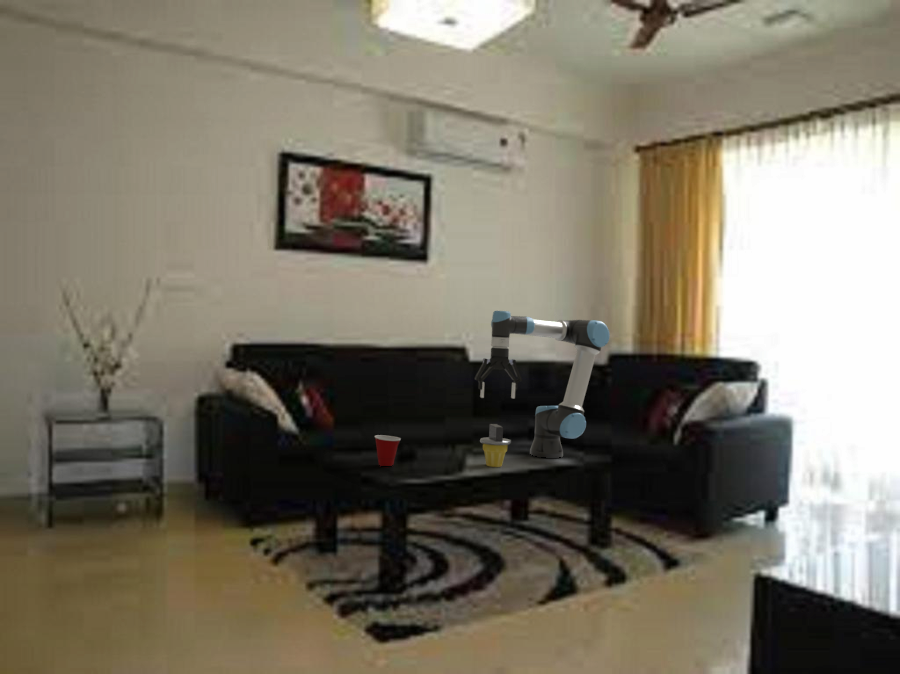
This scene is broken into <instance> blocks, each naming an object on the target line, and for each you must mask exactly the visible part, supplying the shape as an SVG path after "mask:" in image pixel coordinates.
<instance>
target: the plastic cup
mask: <svg viewBox="0 0 900 674" xmlns="http://www.w3.org/2000/svg"><path fill="white" fill-rule="evenodd" d="M374 438H375V439H374V440H375V445H376V446H375V447H376V455H377V462H378V466H379V465H380V466H379V467H381V466H392V465H393V466H394V464H395V458H396V455H397V450H398V447H399V444H400V441H401V439H402V438H401V437H398V436H393V435H383V434H380V435H379V434H377V435H374ZM393 466H392V467H393Z"/></svg>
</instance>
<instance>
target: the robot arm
mask: <svg viewBox="0 0 900 674" xmlns="http://www.w3.org/2000/svg"><path fill="white" fill-rule="evenodd" d="M511 314H512V313H511V311H509V310H494V311H493V313H492V319H491V322H490V325H491V341H490V342H491V343H490V346H491V348H490V358H486V357H484V358H483V359H482V362H481V363H482V364H481V365H480V367H479V369H478V371H477V372H476V374H475V376H474V381H477V382H478V390H480V395H479V397H480V398H481V399H484V398H485V382H484V381H485V379H486V378H487V377H488V376H489V375H490V374H491V373H492V371H494V370H500V371H501V370H502V371H503V370H504V371H505V372H506V373H507V374H508V376H509V377H510V379H511V380H512V381H513V382H511V394H510V395H511V396H510V398H511V399H516V391H518V388H519V387H518V386H519V385H518V384H519V383H520V382H523V377H522V376H521V374H520V372H519V369H518V366H517V361H516V359H514V358H512V359H509V356H510V355H509V354H510V353H509V351H510V349H509V347H510V335H511V334H513V335H514V334H515V335H521V336H532V337H533V336H534V337H540V338H541V337H542V338H552V339H555V340H556V341H558V342H565V343H569V344H573V345H574V347H575V350H576V353H575V357H574V360H573V364H572V368H571V372H570V375H569V379H568V382H567V386H566V389H565V393H564V397H563V401H562V402H560V403H559V404H558V405H540V406H537V407H536V409H535V415H534V417H535V419H534V438H533V441H532V444H531V446H530V449H529V455H530V454H531V455H530V456H532V455H533V456H532V457H535V456H537V457H536V458H541V457H546V458H545V459H560V458H559V457H561V458H564V457H563V456H564V450H563V446H562V444H561V443H562V442H561V437H562V438H565V439H574V440H575V439H577V438H579V437H580V436H582V435H583V433H584V432H585V430H586V427H587V421H586V417H585V416H584V415H585V414H584V413H585V410H584V408H583V405H584V400H585V396H586V393H587V390H588V385H589V381H590V379H591V375H592V370H593V367H594V363H595V360H596V359H595V358H596V356H597V355H598V354H600V353H601V351H602V350H601V349H602V348H603V347H605V346H606V345H607V344H609V341H610V335H611V334H610V329H608V326H607V324H605V323H604V322H603V321H601V320H595V319H592V320H591V319H590V320H589V319H572V320H571V319H570V320H568V319H567V320H566V319H565V320H564V319H559V320H557V321H553V320H543V319H536V318H532V317H531V316H520V315H519V316H518V315H511ZM488 364H490V366H489V367H488V368H487V369H486V367H487V365H488ZM509 364H510V365H511V367H512V369H513V372H514V374H515V375H514V374H513V372H512V371H511V369H510V368H509V366H508V365H509ZM485 369H486V370H485ZM484 370H485V372H484ZM483 372H484V373H483Z"/></svg>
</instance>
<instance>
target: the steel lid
mask: <svg viewBox="0 0 900 674" xmlns="http://www.w3.org/2000/svg"><path fill="white" fill-rule="evenodd" d="M503 435H504V427H503V426H502V425H500V424H498V423H489V431H488V437H481V438H480V440H479V442H480V443H481V444H482V445H483V444H489V445H508V446H509V445H511V444H512V439H508V438H505V437H504V436H503ZM503 437H504V438H503Z"/></svg>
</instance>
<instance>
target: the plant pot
mask: <svg viewBox="0 0 900 674" xmlns="http://www.w3.org/2000/svg"><path fill="white" fill-rule="evenodd" d="M508 446H509V445H489V444H483V443H482V450H483V453H484V458H485V465H486V466H487V467H492V468H500V467H502V466H503V463H504V459H505V456H506V452H508Z"/></svg>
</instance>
